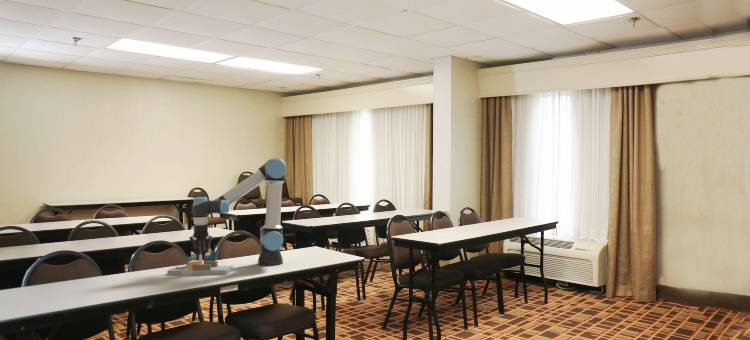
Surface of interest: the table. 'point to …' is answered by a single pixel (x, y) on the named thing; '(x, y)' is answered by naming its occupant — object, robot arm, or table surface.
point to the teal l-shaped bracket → (208, 258)
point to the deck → (201, 269)
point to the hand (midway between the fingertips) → (201, 265)
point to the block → (192, 263)
